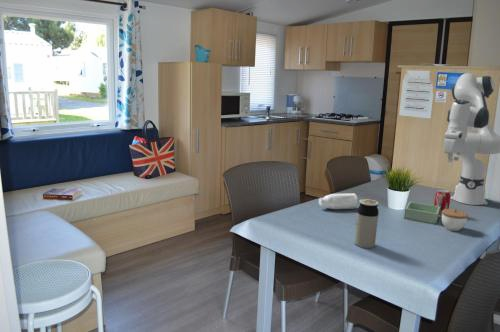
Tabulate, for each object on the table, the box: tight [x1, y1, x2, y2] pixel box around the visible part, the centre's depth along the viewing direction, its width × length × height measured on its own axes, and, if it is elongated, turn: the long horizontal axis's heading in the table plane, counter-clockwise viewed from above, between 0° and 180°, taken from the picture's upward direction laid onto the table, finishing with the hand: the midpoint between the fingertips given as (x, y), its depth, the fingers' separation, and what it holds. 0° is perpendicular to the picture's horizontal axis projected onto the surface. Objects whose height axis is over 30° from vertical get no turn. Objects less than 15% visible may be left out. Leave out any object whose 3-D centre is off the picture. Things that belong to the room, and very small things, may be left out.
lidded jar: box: [441, 208, 469, 232], centre depth 190 cm, size 11×11×9 cm
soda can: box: [433, 188, 452, 216], centre depth 212 cm, size 7×7×12 cm
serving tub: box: [403, 201, 440, 225], centre depth 205 cm, size 14×14×5 cm
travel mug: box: [353, 198, 380, 249], centre depth 166 cm, size 8×8×18 cm
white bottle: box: [318, 192, 358, 210], centre depth 213 cm, size 8×19×8 cm, turn 102°
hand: (453, 161), depth 207 cm, fingers open, 8 cm apart
